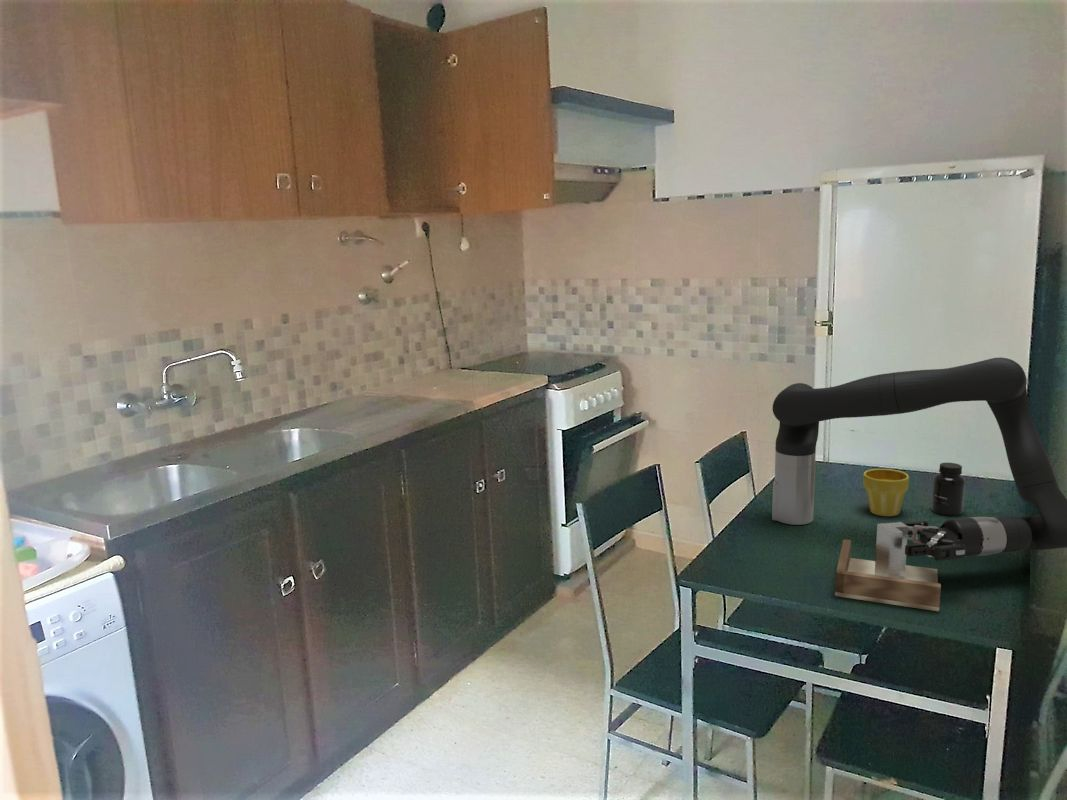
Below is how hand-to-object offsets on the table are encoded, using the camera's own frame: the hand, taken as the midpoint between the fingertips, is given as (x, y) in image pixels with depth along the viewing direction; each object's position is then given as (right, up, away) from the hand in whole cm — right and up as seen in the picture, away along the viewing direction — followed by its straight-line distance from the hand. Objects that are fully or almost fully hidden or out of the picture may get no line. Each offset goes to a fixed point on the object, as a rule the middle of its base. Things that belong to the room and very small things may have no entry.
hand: (894, 542), depth 156 cm
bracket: (+1, -8, +2) cm, 8 cm away
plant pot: (+16, 0, +41) cm, 44 cm away
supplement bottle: (+31, 0, +39) cm, 50 cm away
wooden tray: (-1, -9, +2) cm, 9 cm away
